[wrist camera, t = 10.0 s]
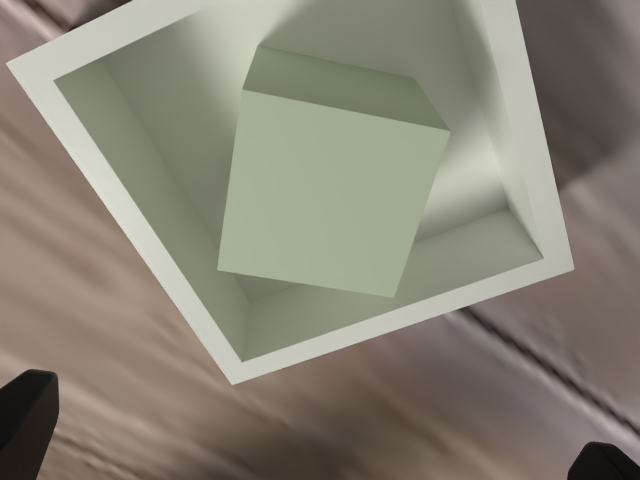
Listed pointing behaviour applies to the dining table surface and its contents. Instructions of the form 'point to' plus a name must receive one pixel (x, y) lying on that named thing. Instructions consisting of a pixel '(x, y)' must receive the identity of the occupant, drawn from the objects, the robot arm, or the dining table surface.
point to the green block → (328, 173)
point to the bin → (218, 144)
